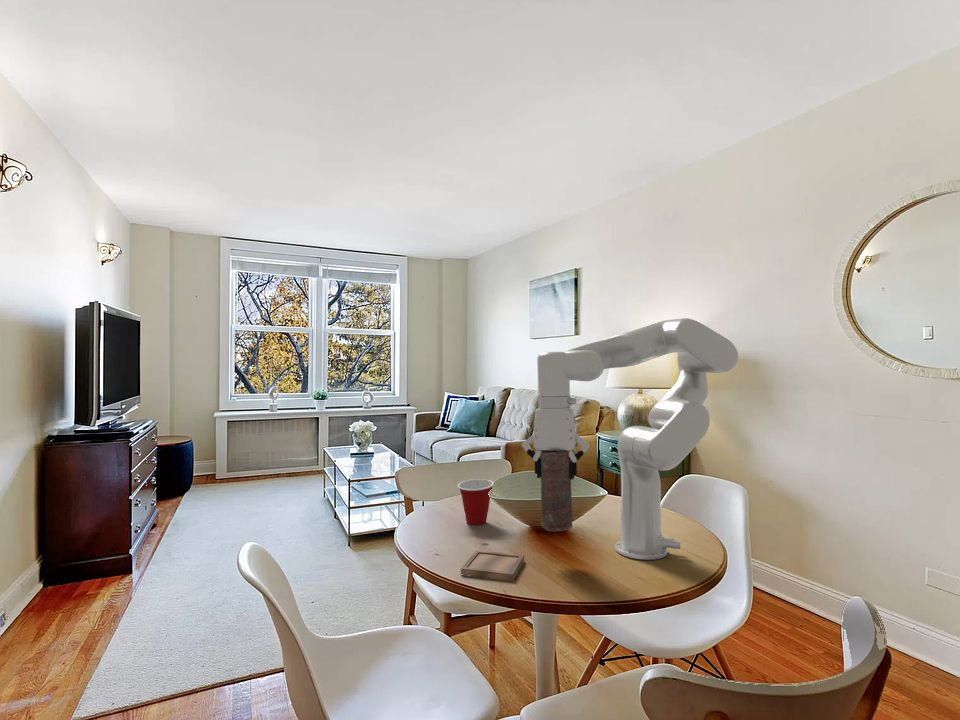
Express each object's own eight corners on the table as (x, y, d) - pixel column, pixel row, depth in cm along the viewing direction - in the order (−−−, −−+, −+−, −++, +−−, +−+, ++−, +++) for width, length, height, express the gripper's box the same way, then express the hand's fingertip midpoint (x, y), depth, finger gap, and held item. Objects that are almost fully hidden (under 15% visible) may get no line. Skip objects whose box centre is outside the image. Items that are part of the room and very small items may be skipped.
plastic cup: (450, 522, 159) (450, 482, 159) (477, 515, 166) (477, 477, 167) (474, 531, 151) (474, 488, 151) (501, 523, 158) (501, 482, 158)
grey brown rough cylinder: (576, 535, 124) (573, 449, 124) (545, 536, 123) (542, 450, 123) (568, 524, 132) (565, 443, 132) (539, 526, 131) (536, 445, 131)
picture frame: (523, 561, 128) (523, 555, 128) (512, 581, 117) (512, 574, 117) (476, 556, 132) (476, 550, 132) (460, 575, 120) (460, 568, 120)
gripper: (592, 402, 129) (594, 475, 129) (521, 402, 133) (523, 472, 134) (589, 404, 121) (591, 482, 121) (515, 404, 126) (516, 479, 126)
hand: (555, 477), depth 127 cm, fingers closed on grey brown rough cylinder, 7 cm apart
